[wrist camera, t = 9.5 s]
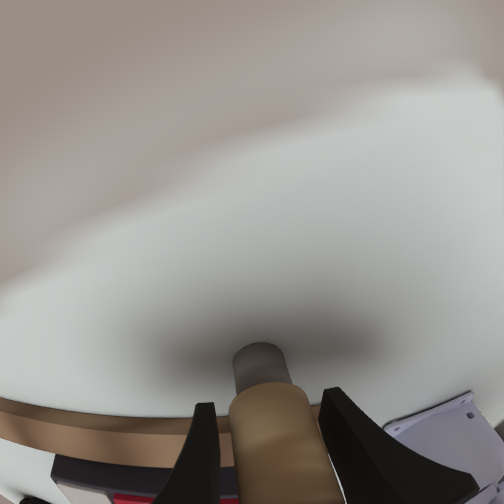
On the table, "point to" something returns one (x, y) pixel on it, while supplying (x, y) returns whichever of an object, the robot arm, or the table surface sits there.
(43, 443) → the board
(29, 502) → the portable speaker
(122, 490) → the calculator
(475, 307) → the table surface
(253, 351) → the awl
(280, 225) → the table surface
